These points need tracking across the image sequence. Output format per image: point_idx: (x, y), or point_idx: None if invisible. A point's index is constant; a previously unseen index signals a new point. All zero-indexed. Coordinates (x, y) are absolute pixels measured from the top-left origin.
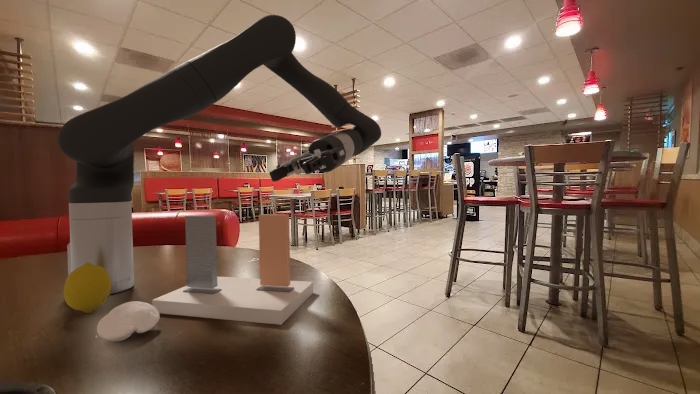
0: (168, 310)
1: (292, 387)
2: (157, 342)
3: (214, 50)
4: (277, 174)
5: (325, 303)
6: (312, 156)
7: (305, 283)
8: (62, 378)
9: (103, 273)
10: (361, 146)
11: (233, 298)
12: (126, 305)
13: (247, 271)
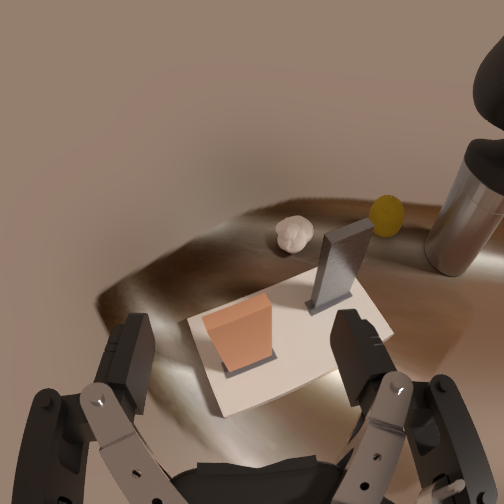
0: None
1: (130, 275)
2: (261, 250)
3: None
4: (341, 344)
5: (184, 395)
6: (197, 477)
7: (229, 404)
8: (261, 210)
9: (383, 213)
10: None
11: None
12: (303, 224)
13: None
